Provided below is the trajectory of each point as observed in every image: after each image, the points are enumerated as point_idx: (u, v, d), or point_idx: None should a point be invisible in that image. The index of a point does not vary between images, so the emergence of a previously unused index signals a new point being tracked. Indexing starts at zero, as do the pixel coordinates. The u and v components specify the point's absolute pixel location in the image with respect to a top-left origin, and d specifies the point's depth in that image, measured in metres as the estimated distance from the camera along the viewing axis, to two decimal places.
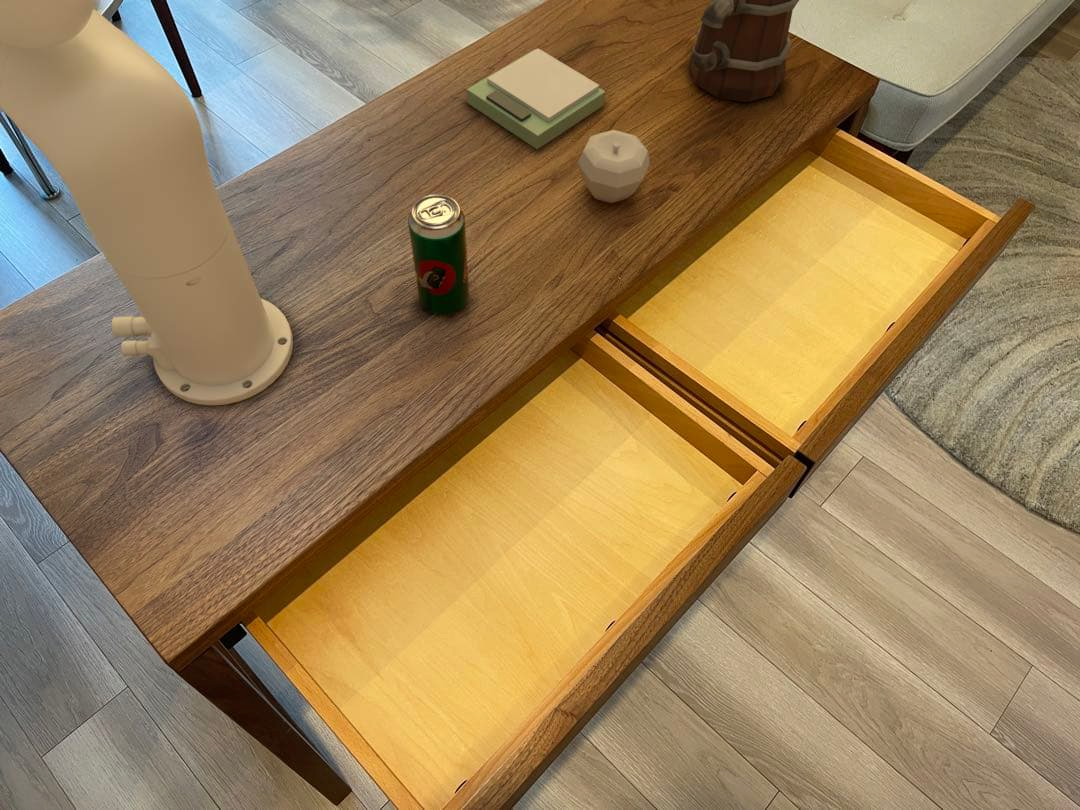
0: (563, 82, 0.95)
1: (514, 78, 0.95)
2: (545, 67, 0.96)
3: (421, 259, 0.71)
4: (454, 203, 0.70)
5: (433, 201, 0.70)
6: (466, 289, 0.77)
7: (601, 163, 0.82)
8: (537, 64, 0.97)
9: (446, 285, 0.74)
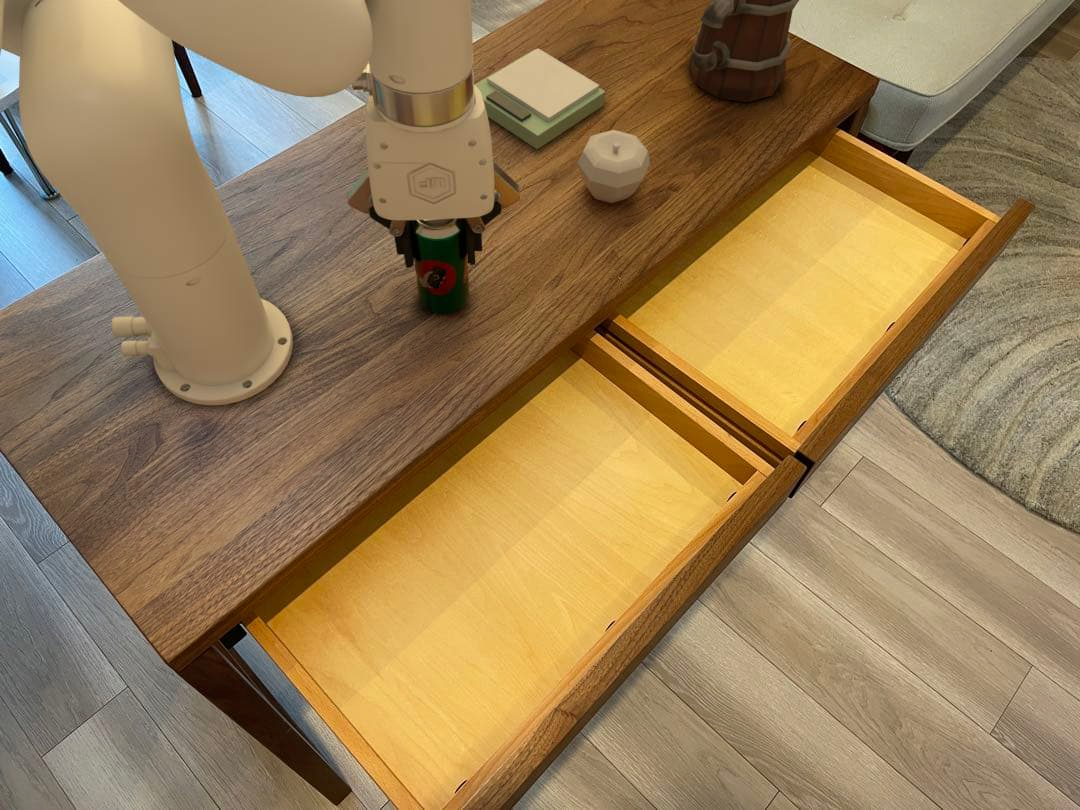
0: (563, 82, 0.95)
1: (514, 78, 0.95)
2: (545, 67, 0.96)
3: (421, 259, 0.71)
4: None
5: None
6: (466, 289, 0.77)
7: (601, 163, 0.82)
8: (537, 64, 0.97)
9: (447, 285, 0.74)
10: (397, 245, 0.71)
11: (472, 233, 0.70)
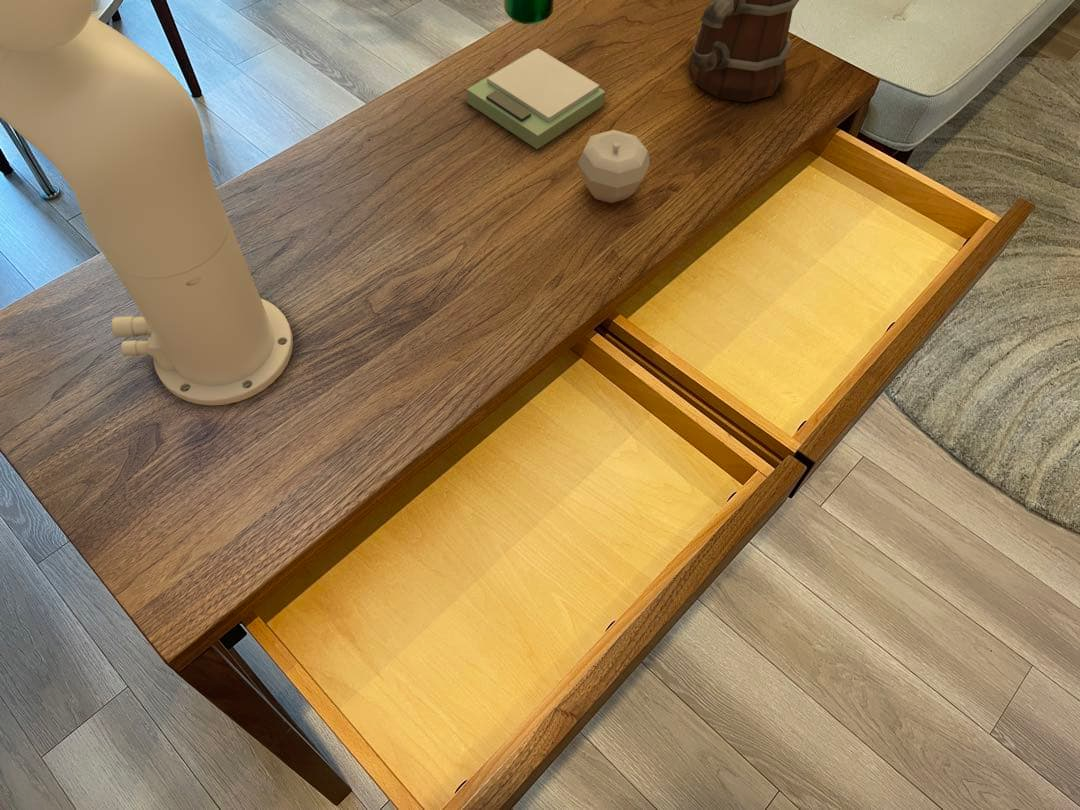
0: (563, 82, 0.95)
1: (514, 78, 0.95)
2: (545, 67, 0.96)
3: None
4: None
5: None
6: None
7: (601, 163, 0.82)
8: (537, 64, 0.97)
9: None
10: None
11: None
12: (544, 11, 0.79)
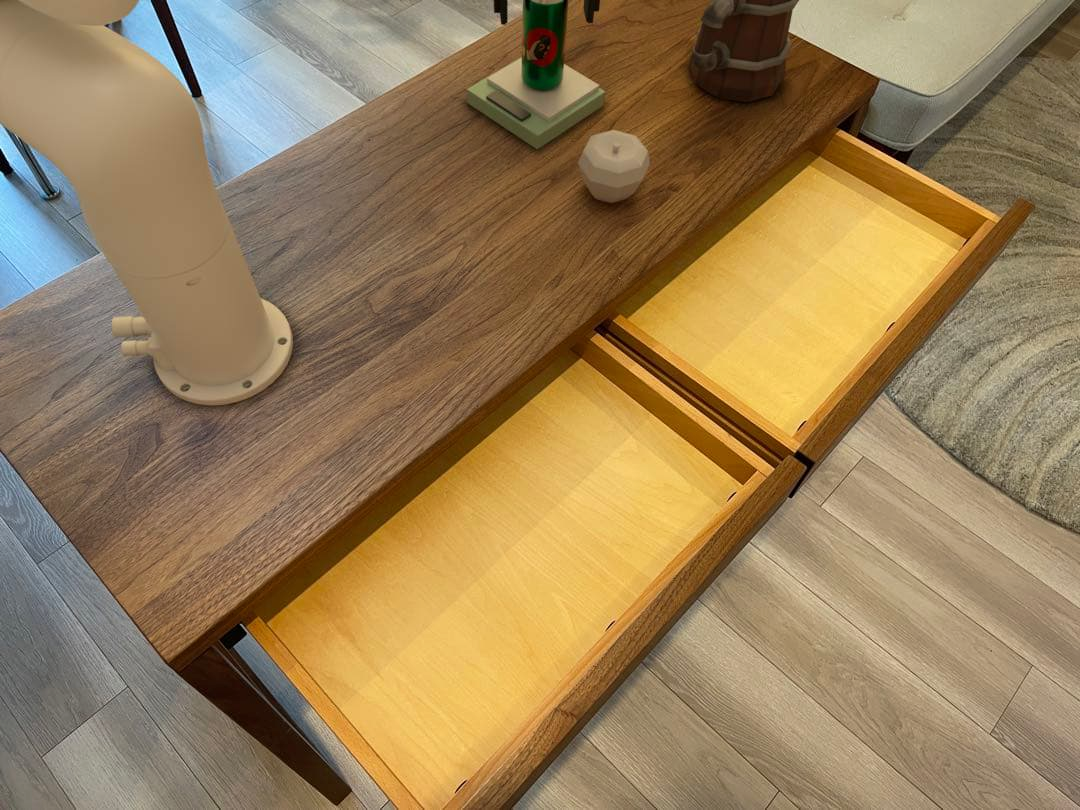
0: (563, 82, 0.95)
1: (514, 78, 0.95)
2: None
3: (531, 28, 0.87)
4: None
5: None
6: (562, 66, 0.92)
7: (601, 163, 0.82)
8: None
9: (549, 56, 0.90)
10: (495, 1, 0.85)
11: None
12: (555, 80, 0.93)
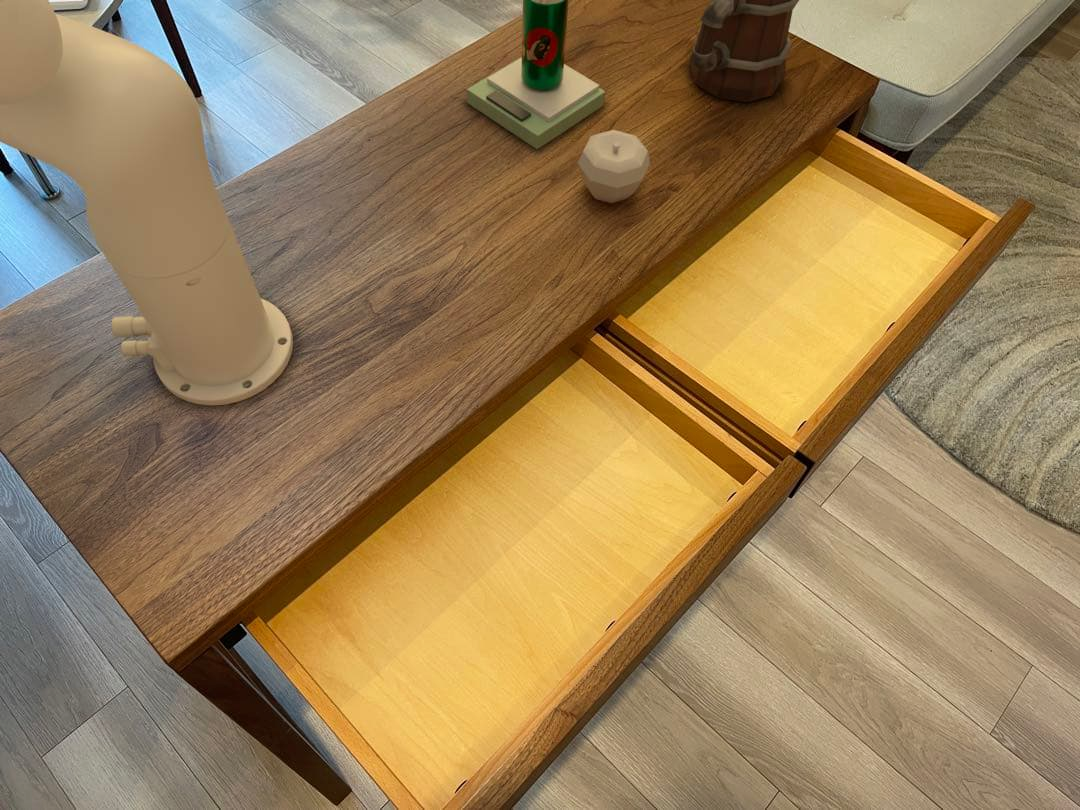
0: (563, 82, 0.95)
1: (514, 78, 0.95)
2: None
3: (531, 28, 0.87)
4: None
5: None
6: (562, 66, 0.92)
7: (601, 163, 0.82)
8: None
9: (549, 56, 0.90)
10: None
11: None
12: (555, 80, 0.93)
